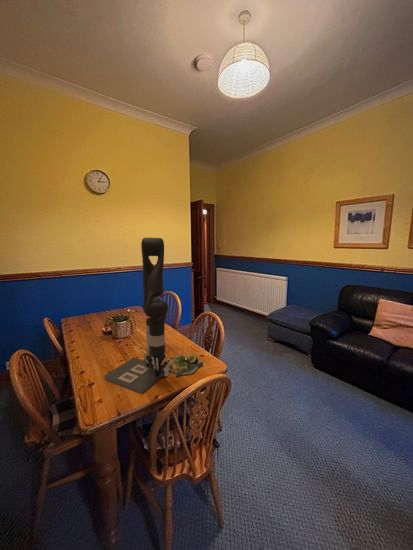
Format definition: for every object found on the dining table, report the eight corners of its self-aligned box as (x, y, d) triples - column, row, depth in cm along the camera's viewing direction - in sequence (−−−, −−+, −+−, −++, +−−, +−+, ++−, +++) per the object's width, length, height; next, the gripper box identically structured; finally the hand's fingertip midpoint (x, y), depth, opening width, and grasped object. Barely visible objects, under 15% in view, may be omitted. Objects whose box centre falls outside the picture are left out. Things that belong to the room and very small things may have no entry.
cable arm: (142, 359, 125) (142, 354, 124) (148, 357, 127) (148, 352, 127) (163, 376, 109) (163, 371, 109) (169, 374, 112) (169, 368, 111)
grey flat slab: (133, 360, 132) (133, 353, 132) (168, 371, 122) (167, 364, 121) (104, 379, 115) (104, 371, 114) (141, 394, 104) (141, 385, 103)
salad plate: (190, 382, 114) (190, 373, 113) (159, 373, 120) (159, 365, 120) (205, 363, 131) (205, 355, 130) (178, 356, 138) (178, 349, 137)
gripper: (173, 342, 109) (173, 375, 112) (151, 336, 115) (152, 368, 118) (163, 348, 102) (164, 384, 105) (140, 342, 108) (142, 376, 111)
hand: (157, 375), depth 111 cm, fingers closed
